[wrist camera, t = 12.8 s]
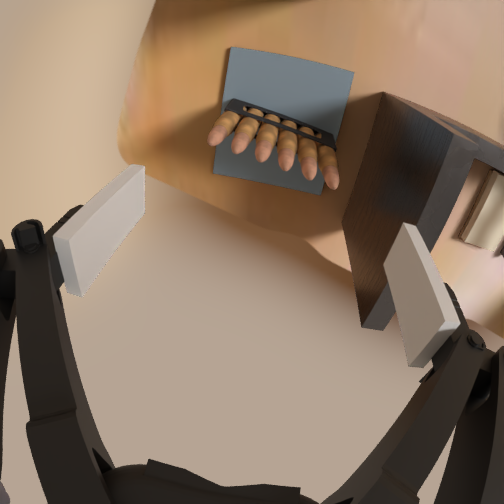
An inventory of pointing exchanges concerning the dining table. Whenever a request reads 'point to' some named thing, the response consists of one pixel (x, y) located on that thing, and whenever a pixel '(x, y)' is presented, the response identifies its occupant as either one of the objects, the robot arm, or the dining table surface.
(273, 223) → the dining table surface
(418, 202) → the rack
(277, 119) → the ammunition clip
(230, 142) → the mat
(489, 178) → the offcut lower
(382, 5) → the dining table surface
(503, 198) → the offcut upper
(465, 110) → the dining table surface
